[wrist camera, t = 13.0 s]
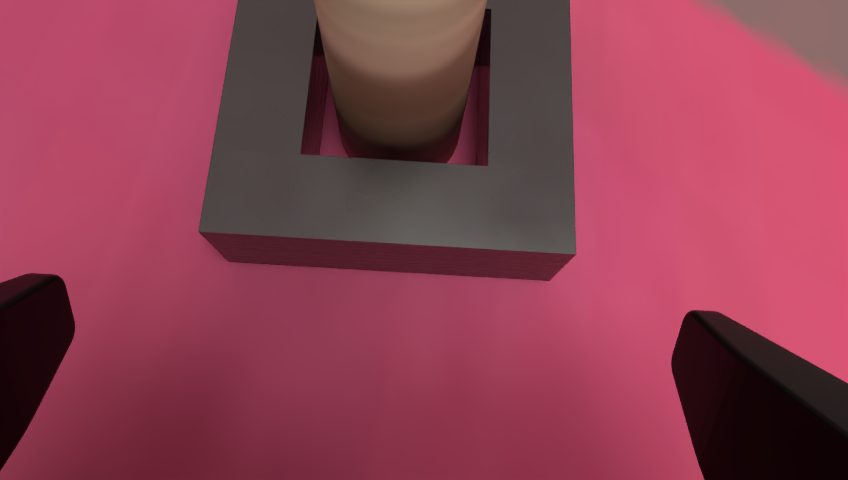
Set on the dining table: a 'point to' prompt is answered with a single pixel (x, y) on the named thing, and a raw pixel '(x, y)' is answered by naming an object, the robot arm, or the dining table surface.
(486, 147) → the block
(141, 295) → the dining table surface
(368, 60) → the keyed peg
